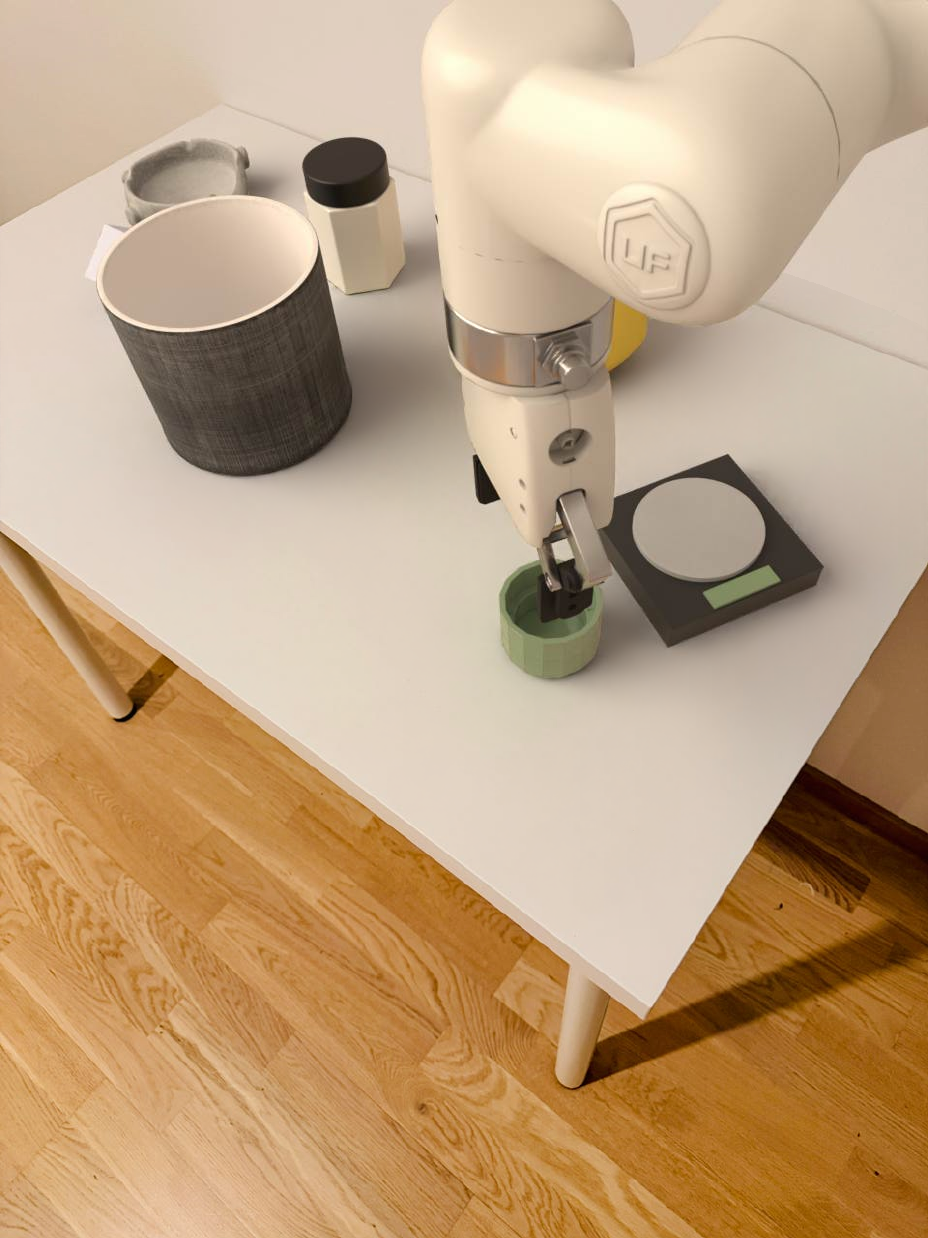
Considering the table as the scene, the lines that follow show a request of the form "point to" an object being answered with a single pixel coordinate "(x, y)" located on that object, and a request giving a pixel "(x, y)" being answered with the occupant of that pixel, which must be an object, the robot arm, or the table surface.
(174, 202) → the dish
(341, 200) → the jar
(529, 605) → the green cup
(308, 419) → the planter
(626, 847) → the table surface
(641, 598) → the scale
